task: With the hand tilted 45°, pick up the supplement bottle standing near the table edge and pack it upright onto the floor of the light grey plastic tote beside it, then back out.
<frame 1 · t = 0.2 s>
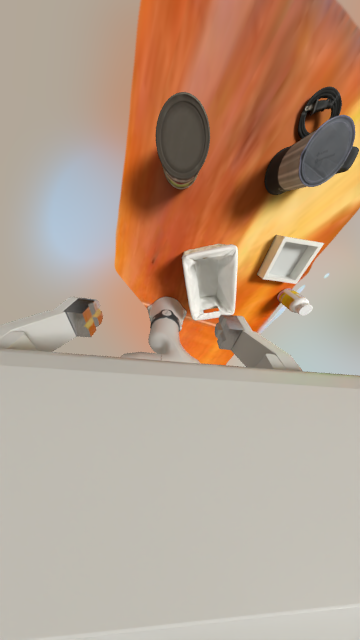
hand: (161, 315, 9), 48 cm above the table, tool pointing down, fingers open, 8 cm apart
supplement bottle: (284, 294, 62), on the table
storage basket: (204, 274, 56), on the table
tote: (282, 259, 52), on the table
coffee can: (181, 163, 37), on the table
milk frother: (292, 152, 36), on the table
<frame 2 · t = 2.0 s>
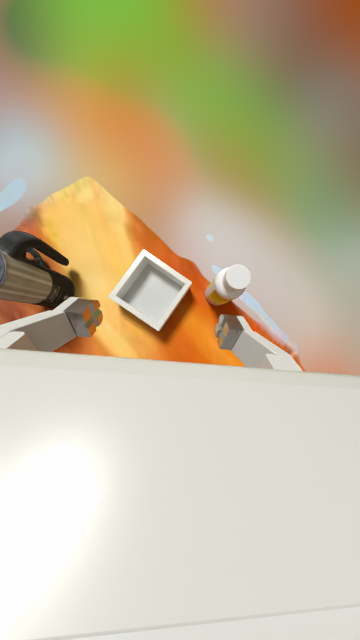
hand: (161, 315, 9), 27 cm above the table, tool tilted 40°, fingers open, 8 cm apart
supplement bottle: (216, 294, 38), on the table
tote: (154, 294, 37), on the table
milk frother: (47, 280, 36), on the table
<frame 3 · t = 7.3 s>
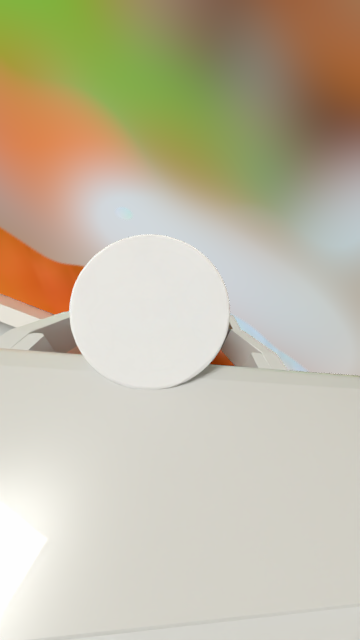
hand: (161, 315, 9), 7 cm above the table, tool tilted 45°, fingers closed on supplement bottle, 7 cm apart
supplement bottle: (162, 329, 17), on the table, touching gripper
tote: (2, 368, 14), on the table
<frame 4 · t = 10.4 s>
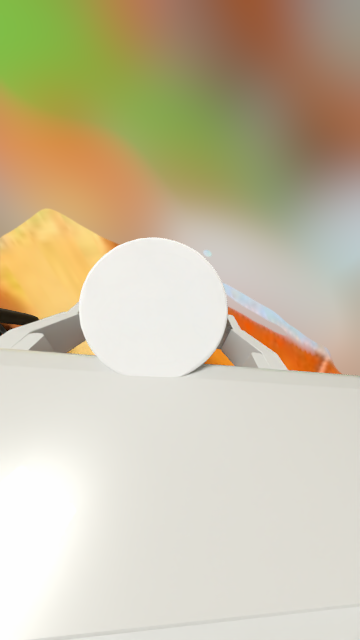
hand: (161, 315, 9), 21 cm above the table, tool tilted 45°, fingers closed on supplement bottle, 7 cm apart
supplement bottle: (162, 327, 17), point 13 cm above the table, touching gripper
milk frother: (12, 348, 27), on the table
when the fingers open (10 cm above the table, at t = 13.6 s): supplement bottle stays where it is, resting on tote.
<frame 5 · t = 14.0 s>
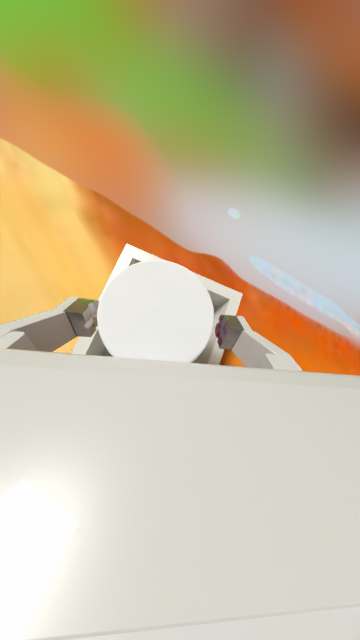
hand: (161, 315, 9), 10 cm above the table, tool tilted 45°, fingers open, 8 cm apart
supplement bottle: (163, 329, 18), point 1 cm above the table, touching tote
tote: (162, 329, 19), on the table
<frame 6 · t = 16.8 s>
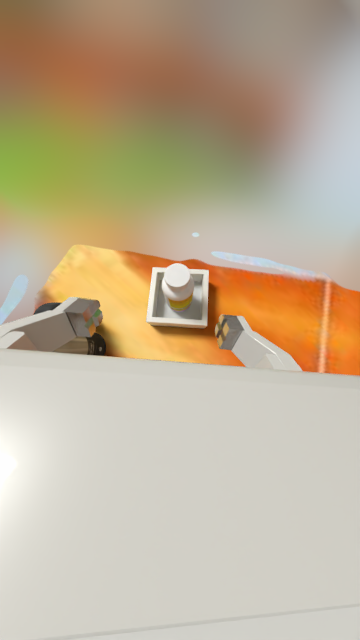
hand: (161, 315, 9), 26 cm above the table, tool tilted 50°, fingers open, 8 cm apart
supplement bottle: (179, 300, 37), point 1 cm above the table, touching tote
tote: (179, 302, 37), on the table
milk frother: (75, 345, 36), on the table
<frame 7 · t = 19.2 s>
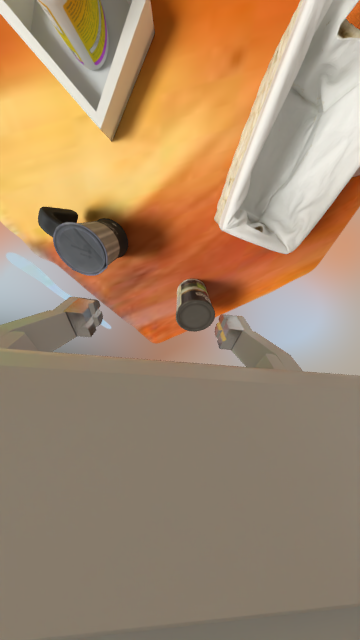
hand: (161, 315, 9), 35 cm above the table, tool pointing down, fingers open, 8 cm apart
supplement bottle: (86, 30, 20), point 1 cm above the table, touching tote
storage basket: (260, 173, 30), on the table
tote: (89, 37, 21), on the table
coffee can: (191, 292, 47), on the table
milk frother: (102, 248, 38), on the table
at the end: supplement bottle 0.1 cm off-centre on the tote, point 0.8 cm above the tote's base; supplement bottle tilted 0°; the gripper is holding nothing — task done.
